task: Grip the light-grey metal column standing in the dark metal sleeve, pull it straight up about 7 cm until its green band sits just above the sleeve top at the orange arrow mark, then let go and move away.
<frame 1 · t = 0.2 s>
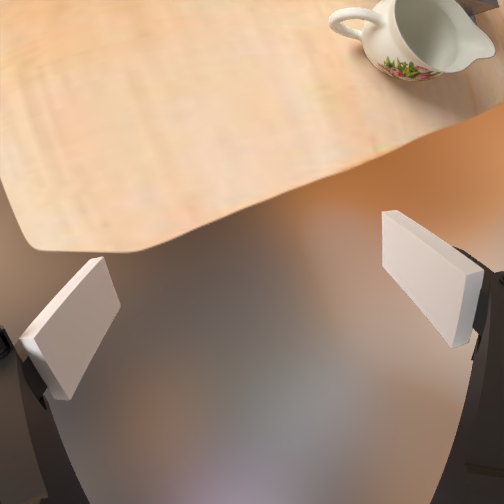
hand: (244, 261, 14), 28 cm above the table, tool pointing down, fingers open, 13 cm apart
pitcher: (379, 46, 34), on the table
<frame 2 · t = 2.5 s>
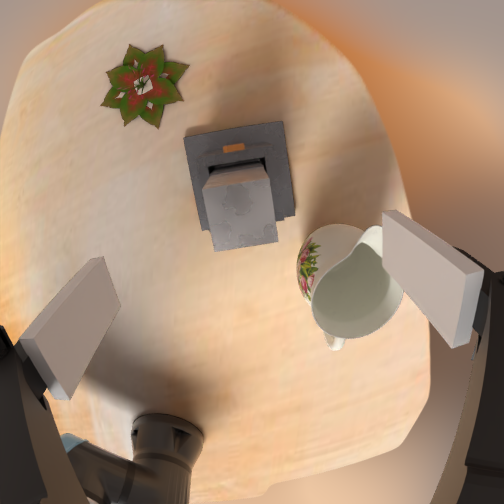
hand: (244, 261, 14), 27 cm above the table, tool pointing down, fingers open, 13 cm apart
lily flower: (144, 85, 35), on the table
pitcher: (327, 257, 44), on the table
stand: (240, 175, 40), on the table
column: (240, 190, 30), point 10 cm above the table, slide at 0.0 cm
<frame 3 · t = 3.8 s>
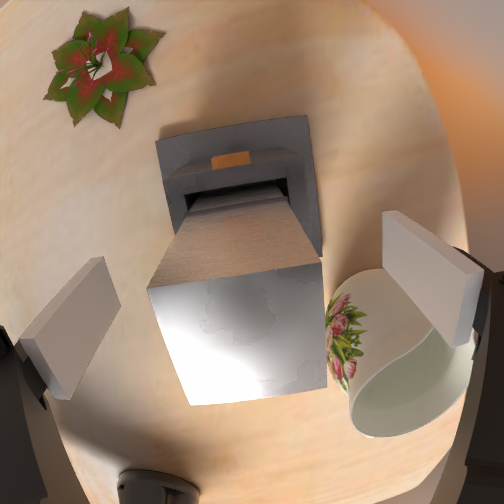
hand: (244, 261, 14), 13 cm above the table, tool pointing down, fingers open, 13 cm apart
lily flower: (102, 66, 22), on the table
pitcher: (361, 308, 31), on the table
stand: (242, 197, 27), on the table
column: (243, 238, 17), point 10 cm above the table, slide at 0.0 cm
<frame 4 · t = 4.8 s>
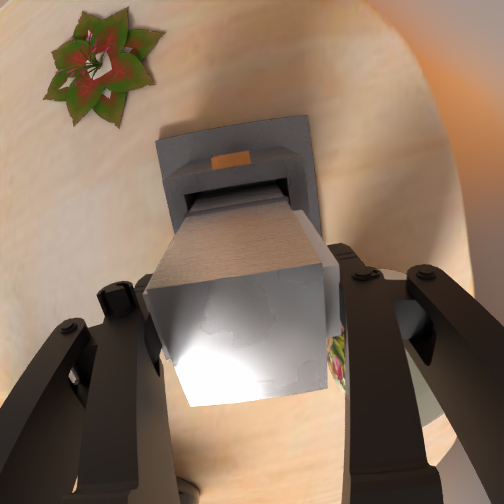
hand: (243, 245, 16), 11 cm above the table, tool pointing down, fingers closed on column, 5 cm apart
lily flower: (102, 66, 22), on the table
pitcher: (361, 308, 31), on the table
stand: (242, 197, 27), on the table
column: (243, 238, 17), point 10 cm above the table, slide at 0.0 cm, touching gripper
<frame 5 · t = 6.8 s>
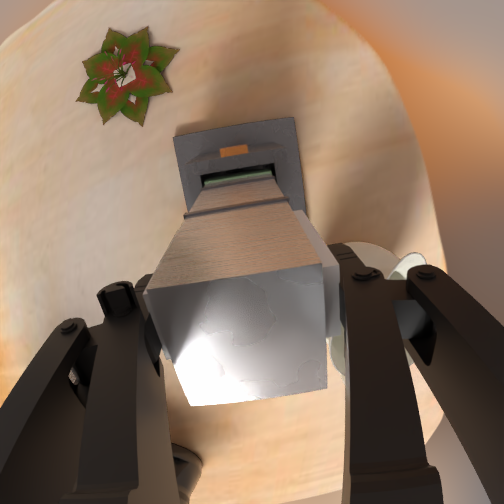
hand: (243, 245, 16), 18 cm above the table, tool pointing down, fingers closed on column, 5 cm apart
lily flower: (126, 75, 29), on the table
pitcher: (343, 278, 38), on the table
stand: (242, 182, 33), on the table
column: (243, 238, 17), point 17 cm above the table, slide at 6.8 cm, touching gripper
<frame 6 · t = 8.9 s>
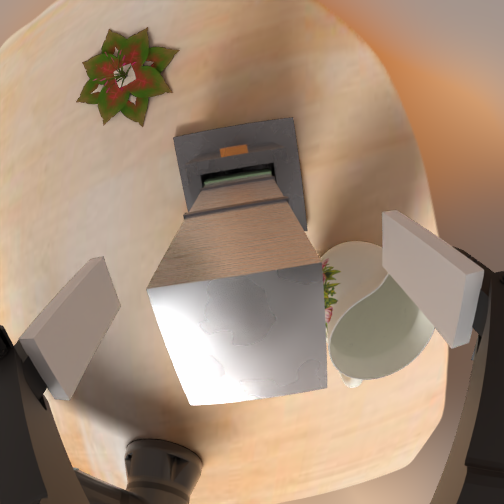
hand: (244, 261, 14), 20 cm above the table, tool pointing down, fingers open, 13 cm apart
lily flower: (126, 76, 29), on the table
pitcher: (342, 277, 38), on the table
stand: (242, 182, 33), on the table
column: (243, 238, 17), point 17 cm above the table, slide at 7.1 cm
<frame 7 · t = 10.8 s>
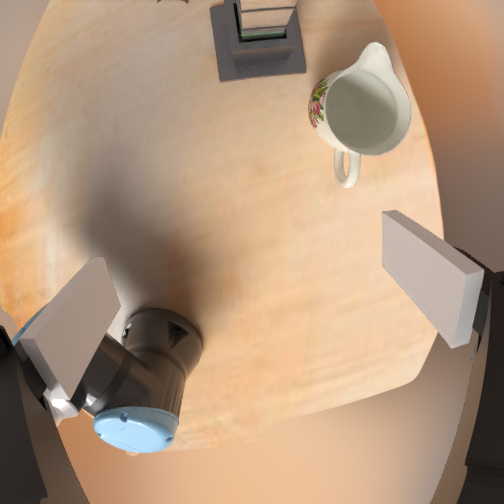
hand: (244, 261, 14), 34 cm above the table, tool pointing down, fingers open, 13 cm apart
pitcher: (336, 118, 43), on the table
stand: (257, 39, 38), on the table
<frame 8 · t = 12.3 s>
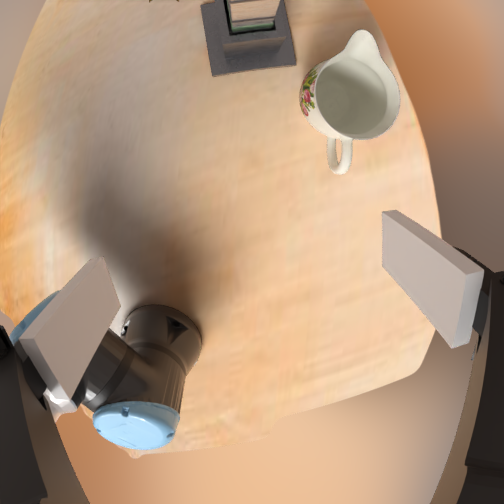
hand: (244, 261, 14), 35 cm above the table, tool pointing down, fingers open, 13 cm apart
pitcher: (328, 108, 44), on the table
stand: (247, 34, 39), on the table
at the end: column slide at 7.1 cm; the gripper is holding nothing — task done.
